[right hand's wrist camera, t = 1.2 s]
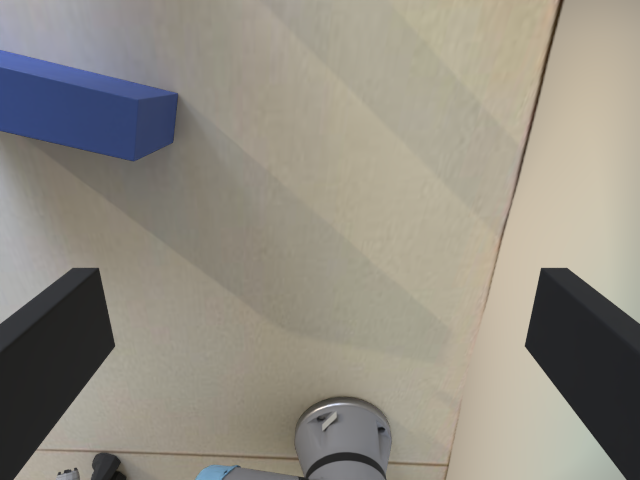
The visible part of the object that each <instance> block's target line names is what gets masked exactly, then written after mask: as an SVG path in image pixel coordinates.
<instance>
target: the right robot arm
mask: <svg viewBox="0 0 640 480" xmlns="http://www.w3.org/2000/svg"><path fill="white" fill-rule="evenodd" d="M114 347H115V343H114V338H113V333H112V328H111V324H110V319H109V314H108V309H107V305H106V300H105V295H104V290H103V286H102V281H101V276H100V271H99V268H72V269H71V270H70V271H68V272H67V273H66V274H64V275H63V276H62V277H61V278H59V279H58V280H57V281H55V282H54V283H53V284H52V285H50V286H49V287H48V288H46V289H45V290H44V291H42V292H41V293H40V294H39V295H37V296H36V297H35V298H33V299H32V300H31V301H29V302H28V303H27V304H26V305H24V306H23V307H22V308H20V309H19V310H18V311H17V312H15V313H14V314H13V315H11V316H10V317H9V318H7V319H6V320H5V321H4V322H2V323H1V324H0V480H14V478H15V477H16V476H17V474H18V473H19V472H20V470H21V469H22V468H23V466H24V465H25V464H26V462H27V461H28V460H29V459H30V457H31V456H32V455H33V453H34V452H35V451H36V449H37V448H38V447H39V445H40V444H41V443H42V441H43V440H44V439H45V438H46V436H47V435H48V434H49V432H50V431H51V430H52V428H53V427H54V426H55V424H56V423H57V422H58V421H59V419H60V418H61V417H62V415H63V414H64V413H65V411H66V410H67V409H68V407H69V406H70V405H71V403H72V402H73V401H74V400H75V398H76V397H77V396H78V394H79V393H80V392H81V390H82V389H83V388H84V386H85V385H86V384H87V382H88V381H89V380H90V379H91V377H92V376H93V375H94V373H95V372H96V371H97V369H98V368H99V367H100V365H101V364H102V363H103V361H104V360H105V359H106V358H107V356H108V355H109V354H110V352H111V351H112V350H113V348H114ZM525 347H526V348H527V350H528V351H529V352H530V354H531V355H532V356H533V358H534V359H535V360H536V361H537V363H538V364H539V365H540V367H541V368H542V369H543V371H544V372H545V373H546V375H547V376H548V377H549V378H550V380H551V381H552V382H553V384H554V385H555V386H556V388H557V389H558V390H559V392H560V393H561V394H562V396H563V397H564V398H565V399H566V401H567V402H568V403H569V405H570V406H571V407H572V409H573V410H574V411H575V413H576V414H577V415H578V417H579V418H580V419H581V420H582V422H583V423H584V424H585V426H586V427H587V428H588V430H589V431H590V432H591V434H592V435H593V436H594V438H595V439H596V440H597V441H598V443H599V444H600V445H601V447H602V448H603V449H604V451H605V452H606V453H607V455H608V456H609V457H610V459H611V460H612V461H613V462H614V464H615V465H616V466H617V468H618V469H619V470H620V472H621V473H622V474H623V476H624V477H625V478H626V480H640V324H639V323H638V322H636V321H635V320H634V319H633V318H631V317H630V316H629V315H627V314H626V313H625V312H623V311H622V310H621V309H620V308H618V307H617V306H616V305H614V304H613V303H612V302H611V301H609V300H608V299H607V298H605V297H604V296H603V295H601V294H600V293H599V292H598V291H596V290H595V289H594V288H592V287H591V286H590V285H588V284H587V283H586V282H585V281H583V280H582V279H581V278H579V277H578V276H577V275H575V274H574V273H573V272H571V271H570V270H569V269H568V268H541V271H540V276H539V281H538V286H537V290H536V296H535V300H534V305H533V310H532V314H531V319H530V324H529V328H528V333H527V338H526V343H525ZM391 443H392V439H391V433H390V427H389V424H388V421H387V419H386V417H385V416H384V414H383V413H382V412H381V411H380V410H379V409H378V408H376V407H375V406H374V405H372V404H370V403H368V402H366V401H363V400H360V399H356V398H350V397H337V398H331V399H327V400H323V401H321V402H318V403H316V404H315V405H313V406H311V407H310V408H309V409H307V410H306V411H305V412H304V413H303V415H302V416H301V417H300V419H299V421H298V423H297V425H296V430H295V449H296V452H297V455H298V458H299V462H300V465H301V468H302V471H303V474H304V477H305V478H304V477H298V476H292V475H285V474H279V473H272V472H266V471H259V470H253V469H246V468H241V467H240V466H238V465H235V466H222V465H211V466H208V467H207V468H204V469H203V470H202V471H201V472H200V473H199V474H198V476H197V477H196V479H195V480H386V470H387V465H388V460H389V454H390V449H391Z"/></svg>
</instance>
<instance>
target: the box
mask: <svg viewBox="0 0 640 480" xmlns="http://www.w3.org/2000/svg"><path fill="white" fill-rule="evenodd" d="M177 99H178V93H174V92H170V91H166V90H162V89H158V88H154V87H150V86H146V85H141V84H137V83H133V82H129V81H125V80H121V79H117V78H113V77H109V76H105V75H100V74H96V73H92V72H88V71H84V70H80V69H76V68H72V67H68V66H63V65H59V64H55V63H51V62H47V61H43V60H39V59H35V58H31V57H27V56H22V55H18V54H14V53H10V52H6V51H2V50H0V131H3V132H7V133H12V134H16V135H21V136H25V137H29V138H34V139H38V140H43V141H47V142H51V143H56V144H60V145H64V146H69V147H73V148H78V149H82V150H86V151H91V152H95V153H99V154H104V155H108V156H113V157H117V158H121V159H126V160H130V161H136V160H138V159H140V158H142V157H144V156H146V155H148V154H150V153H152V152H154V151H157V150H159V149H161V148H163V147H165V146H167V145H169V144H171V143H173V138H174V128H175V119H176V109H177Z"/></svg>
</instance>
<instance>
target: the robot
mask: <svg viewBox="0 0 640 480" xmlns="http://www.w3.org/2000/svg"><path fill="white" fill-rule="evenodd" d="M119 464H120V461H119V459H118V458H117V457H116V456H114V455H110V454H107V453H100V454H97V455H96V456H95V458H94V460H93V463H92V467H93V469H94V472H93V474H92V477H91V480H126V477H125V476H124V475H122V474H121V473H120V472H115V471H116V469H117V468H118V466H119ZM74 470H75V471H71V470H69V469H68V470H64V473H63V474H61V472H59V473H58V475H57V478H56V480H80V476H79V472H78V469H77V468H74Z"/></svg>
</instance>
